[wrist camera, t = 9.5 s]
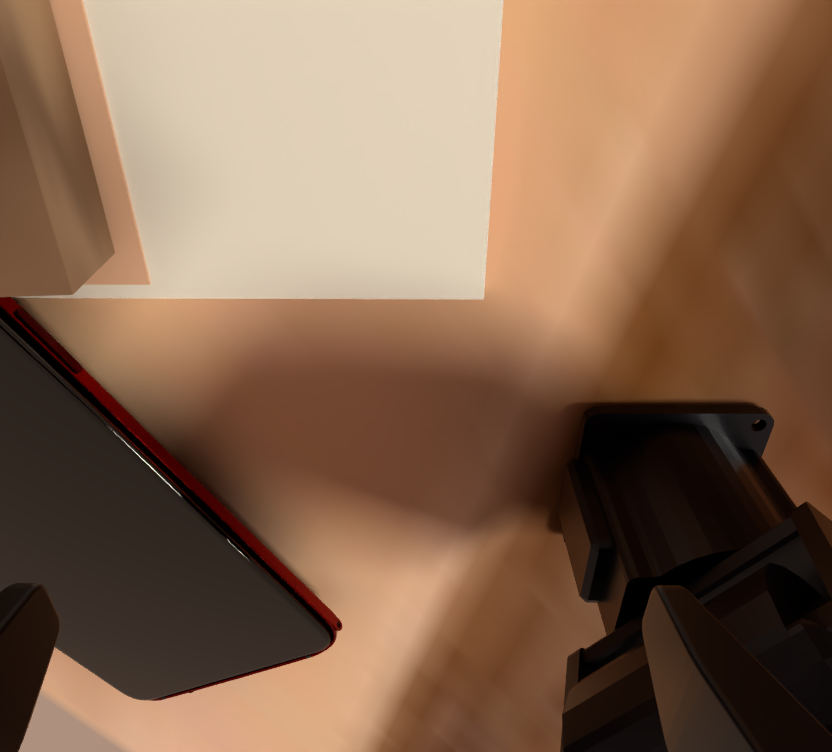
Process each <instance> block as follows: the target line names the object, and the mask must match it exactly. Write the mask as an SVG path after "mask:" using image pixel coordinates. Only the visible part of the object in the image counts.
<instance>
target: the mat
mask: <svg viewBox="0 0 832 752" xmlns="http://www.w3.org/2000/svg"><path fill="white" fill-rule="evenodd" d="M503 1H504V0H50V4H51V8H52V12H53V16H54V19H55V23H56V27H57V31H58V35H59V39H60V42H61V46H62V50H63V54H64V58H65V62H66V66H67V69H68V73H69V77H70V81H71V85H72V89H73V93H74V96H75V100H76V104H77V108H78V112H79V116H80V119H81V123H82V127H83V131H84V135H85V139H86V143H87V146H88V150H89V154H90V158H91V162H92V166H93V170H94V173H95V177H96V181H97V185H98V189H99V193H100V197H101V200H102V204H103V208H104V212H105V216H106V220H107V223H108V227H109V231H110V235H111V239H112V243H113V247H114V250H115V254H114V255H113V256H112V257H111V258H110V259H109V260H108V261H107V262H106V263H105V264H104V265H103V266H102V267H101V268H100V269H99V270H98V271H97V272H96V273H95V274H94V275H92V276H91V277H90V278H89V279H88V280H87V281H86V282H85V283H84V284H83V285H82V286H81V287H80V288H79V289H78V290H77V291H76V292H75V293H74V294H73V295H51V296H21V297H12V298H142V299H484V289H485V273H486V258H487V243H488V228H489V213H490V198H491V183H492V167H493V152H494V137H495V122H496V107H497V92H498V76H499V61H500V46H501V31H502V16H503Z"/></svg>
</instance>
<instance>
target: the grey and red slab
mask: <svg viewBox="0 0 832 752" xmlns="http://www.w3.org/2000/svg"><path fill="white" fill-rule="evenodd" d="M15 583H39V584H42V585H43V586H44V587H45V588H46V590H47V592H48V594H49V596H50V598H51V601H52V603H53V605H54V607H55V609H56V611H57V613H58V616H59V619H60V630H59V635H58V638H57V641H56V644H55V648H57V649H58V650H60V651H61V652H63V653H64V654H66V655H67V656H69V657H70V658H72V659H73V660H74V661H76V662H77V663H79V664H80V665H82V666H83V667H85V668H86V669H88V670H89V671H91V672H92V673H94V674H95V675H97V676H98V677H99V678H101V679H102V680H104V681H105V682H107V683H108V684H110V685H111V686H113V687H114V688H116V689H117V690H119V691H120V692H122V693H123V694H125V695H127V696H129V697H131V698H134V699H138V700H152V701H157V700H163V699H167V698H171V697H174V696H178V695H182V694H185V693H192V692H194V691H196V690H199V689H203V688H206V687H210V686H213V685H217V684H220V683H224V682H227V681H231V680H235V679H238V678H242V677H245V676H249V675H252V674H255V673H259V672H262V671H266V670H269V669H273V668H276V667H280V666H283V665H287V664H290V663H293V662H297V661H300V660H303V659H307V658H310V657H313V656H316V655H318V654H320V653H322V652H323V651H325V650H327V649H328V648H329V647H331V646H332V645H333V643H334V642H335V640H336V637H337V631H340V630H341V629H342V623H341V621H340V620H339V619H338V618H337V617H336V615H335V614H334V613H333V612H332V611H331V610H330V609H329V608H328V607H327V606H326V605H325V604H324V603H323V602H322V601H321V600H320V599H319V598H318V597H317V596H315V595H314V594H313V593H312V592H311V591H310V590H309V589H308V588H307V587H306V586H305V585H304V584H303V583H302V582H301V581H300V580H299V579H298V578H297V577H296V576H295V575H294V574H293V573H292V572H291V571H290V570H289V569H288V568H287V567H286V566H285V565H284V564H283V563H282V562H281V561H280V560H279V559H278V558H276V557H275V556H274V555H273V554H272V553H271V552H270V551H269V550H268V549H267V548H266V547H265V546H264V545H263V544H262V543H261V542H260V541H259V540H258V539H257V538H256V537H255V536H254V535H253V534H252V533H251V532H250V531H249V530H248V529H247V528H246V527H245V526H244V525H243V524H242V523H241V522H240V521H239V520H238V519H237V518H236V517H234V516H233V515H232V514H231V513H230V512H229V511H228V510H227V509H226V508H225V507H224V506H223V505H222V504H221V503H220V502H219V501H218V500H217V499H216V498H215V497H214V496H213V495H212V494H211V493H210V492H209V491H208V490H207V489H206V488H205V487H204V486H203V485H202V484H201V483H200V482H199V481H198V480H197V479H196V478H195V477H193V476H192V475H191V474H190V473H189V472H188V471H187V470H186V469H185V468H184V467H183V466H182V465H181V464H180V463H179V462H178V461H177V460H176V459H175V458H174V457H173V456H172V455H171V454H170V453H169V452H168V451H167V450H166V449H165V448H164V447H163V446H162V445H161V444H160V443H159V442H158V441H157V440H156V439H155V438H154V437H153V436H152V435H150V434H149V433H148V432H147V431H146V430H145V429H144V428H143V427H142V426H141V425H140V424H139V423H138V422H137V421H136V420H135V419H134V418H133V417H132V416H131V415H130V414H129V413H128V412H127V411H126V410H125V409H124V408H123V407H122V406H121V405H120V404H119V403H118V402H117V401H116V400H115V399H114V398H113V397H112V396H111V395H110V394H109V393H108V392H107V391H106V390H105V389H104V388H103V387H102V386H101V385H100V384H99V383H98V382H97V381H96V380H95V379H94V378H93V377H92V376H91V375H90V374H89V373H88V372H87V371H86V370H85V369H84V368H83V367H82V366H81V365H80V364H79V363H78V362H77V361H76V360H75V359H74V358H73V357H72V356H71V355H70V354H69V353H68V352H67V351H66V350H65V349H64V348H63V347H62V346H61V345H60V344H59V343H58V342H57V341H56V340H55V339H54V338H53V337H52V336H51V335H50V334H49V333H48V332H47V331H46V330H45V329H44V328H43V327H42V326H41V325H39V324H38V323H37V322H36V321H35V320H34V319H33V318H32V317H31V316H30V315H29V314H28V313H27V312H26V311H25V310H24V309H23V308H22V307H21V306H20V305H19V304H18V303H17V302H16V301H15V300H14V299H13V298H12V297H0V592H1V591H2V590H3V589H5V588H6V587H8V586H10V585H12V584H15Z"/></svg>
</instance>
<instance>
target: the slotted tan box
mask: <svg viewBox="0 0 832 752" xmlns="http://www.w3.org/2000/svg"><path fill="white" fill-rule="evenodd" d="M114 254H115V250H114V247H113V243H112V239H111V235H110V231H109V227H108V223H107V220H106V216H105V212H104V208H103V204H102V200H101V197H100V193H99V189H98V185H97V181H96V177H95V173H94V170H93V166H92V162H91V158H90V154H89V150H88V146H87V143H86V139H85V135H84V131H83V127H82V123H81V119H80V116H79V112H78V108H77V104H76V100H75V96H74V93H73V89H72V85H71V81H70V77H69V73H68V69H67V66H66V62H65V58H64V54H63V50H62V46H61V42H60V39H59V35H58V31H57V27H56V23H55V19H54V16H53V12H52V8H51V4H50V0H0V297H21V296H51V295H73V294H74V293H75V292H76V291H77V290H78V289H79V288H80V287H81V286H82V285H83V284H84V283H85V282H86V281H87V280H88V279H89V278H90V277H91V276H92V275H94V274H95V273H96V272H97V271H98V270H99V269H100V268H101V267H102V266H103V265H104V264H105V263H106V262H107V261H108V260H109V259H110V258H111V257H112V256H113V255H114Z"/></svg>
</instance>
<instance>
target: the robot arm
mask: <svg viewBox="0 0 832 752" xmlns="http://www.w3.org/2000/svg"><path fill="white" fill-rule="evenodd" d="M598 419H602V420H603V421H602V422H600V423H599V424H592V423H593V422H594V421H595V420H598ZM757 420H760V421H759V422H758V423H756V424H753V422H755V421H757ZM773 425H774V420H773V418H772V416H771V415H770V414H769V413H768V411H767V410H765V409H764V408H761V407H593V408H591V409H589V410H587V411H586V412H585V413H584V415H583V417H582V421H581V427H580V432H579V438H578V444H577V449H576V455H575V459H571V460H570V461H569V462H568V463H567V464H566V467H565V473H564V479H563V485H562V491H561V497H560V503H559V509H558V515H559V519H560V523H561V527H562V534H563V538H564V542H565V543H566V546H567V550H568V554H569V558H570V562H571V565H572V569H573V573H574V577H575V581H576V585H577V588H578V592H579V596H580V597H581V598H582V599H583V600H584V601H585V602H592V603H598V607H599V610H600V614H601V617H602V621H603V624H604V628H605V631H606V636H605V637H603V638H602V639H600V640H599V641H597V642H596V643H594V644H593V645H591V646H589V647H588V648H586V649H584V648H580V649H579V650H577V651H576V652H574V653H573V654H571V655H570V656H568V659H567V672H566V685H565V698H564V710H563V713H562V723H563V724H562V737H561V750H560V752H832V521H831V520H829V519H828V518H827V517H826V516H825V515H823V514H822V513H821V512H820V511H818V510H817V509H816V508H815V507H813V506H812V505H811V504H810V503H808V502H805V503H803V504H802V505H800V506H799V507H796V505H795V504H794V502H793V501H792V500H791V498H790V497H789V495H788V494H787V493H786V491H785V490H784V488H783V487H782V485H781V484H780V483H779V481H778V480H777V478H776V477H775V476H774V474H773V473H772V471H771V470H770V468H769V467H768V466H767V464H766V463H765V461H764V460H763V459H762V454H763V452H764V449H765V447H766V444H767V441H768V439H769V436H770V433H771V431H772V428H773ZM59 630H60V619H59V616H58V613H57V611H56V609H55V607H54V605H53V603H52V601H51V598H50V596H49V594H48V592H47V590H46V588H45V587H44V586H43V585H42V584H39V583H15V584H12V585H10V586H8V587H6V588H5V589H3V590H2V591H1V592H0V752H18V751H19V749H20V746H21V744H22V741H23V739H24V736H25V733H26V731H27V728H28V725H29V722H30V720H31V717H32V714H33V710H34V707H35V704H36V701H37V698H38V695H39V692H40V689H41V686H42V683H43V680H44V677H45V674H46V671H47V668H48V665H49V662H50V659H51V656H52V653H53V650H54V647H55V644H56V641H57V638H58V635H59Z"/></svg>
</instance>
